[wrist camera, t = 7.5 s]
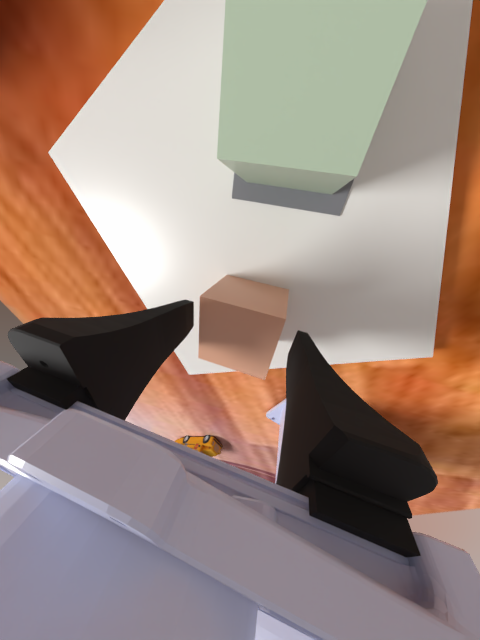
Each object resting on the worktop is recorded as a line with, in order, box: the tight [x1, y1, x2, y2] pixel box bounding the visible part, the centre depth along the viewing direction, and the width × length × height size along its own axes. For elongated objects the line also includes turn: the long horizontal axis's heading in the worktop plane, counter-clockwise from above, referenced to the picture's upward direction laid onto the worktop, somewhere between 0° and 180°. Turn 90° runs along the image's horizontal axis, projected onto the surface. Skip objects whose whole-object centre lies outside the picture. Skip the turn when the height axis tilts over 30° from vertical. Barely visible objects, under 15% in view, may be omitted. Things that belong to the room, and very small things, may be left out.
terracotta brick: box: [198, 275, 289, 380], centre depth 12 cm, size 5×5×4 cm
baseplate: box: [48, 0, 473, 375], centre depth 12 cm, size 22×22×1 cm
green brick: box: [217, 0, 427, 195], centre depth 6 cm, size 5×5×4 cm
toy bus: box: [175, 435, 222, 457], centre depth 30 cm, size 3×10×4 cm, turn 121°
